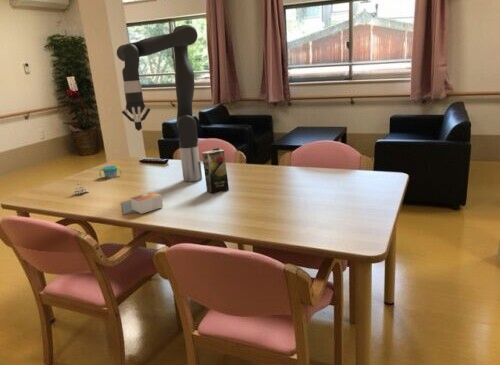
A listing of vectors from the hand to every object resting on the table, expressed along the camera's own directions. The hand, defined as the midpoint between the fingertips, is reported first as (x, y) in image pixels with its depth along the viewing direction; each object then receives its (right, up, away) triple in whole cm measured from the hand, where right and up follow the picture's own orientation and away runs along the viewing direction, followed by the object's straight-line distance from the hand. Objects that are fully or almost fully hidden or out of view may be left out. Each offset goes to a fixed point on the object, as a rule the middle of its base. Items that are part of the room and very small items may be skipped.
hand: (138, 130), depth 185 cm
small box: (+11, -31, -10) cm, 34 cm away
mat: (+1, -34, -7) cm, 35 cm away
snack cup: (-27, -23, +42) cm, 55 cm away
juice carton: (+35, -28, +7) cm, 46 cm away
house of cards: (-33, -31, +14) cm, 47 cm away
